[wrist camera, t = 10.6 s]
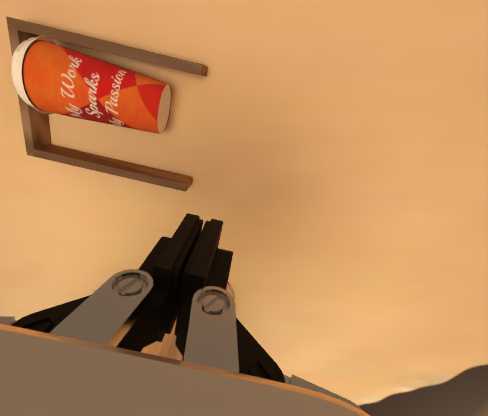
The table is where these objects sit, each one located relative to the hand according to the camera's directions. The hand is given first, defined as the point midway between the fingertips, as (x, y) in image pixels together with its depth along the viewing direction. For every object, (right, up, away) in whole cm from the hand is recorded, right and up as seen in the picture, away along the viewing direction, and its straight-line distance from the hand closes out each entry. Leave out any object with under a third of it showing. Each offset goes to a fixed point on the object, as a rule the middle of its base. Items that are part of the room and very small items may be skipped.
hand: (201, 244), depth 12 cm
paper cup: (-7, +13, +18) cm, 23 cm away
